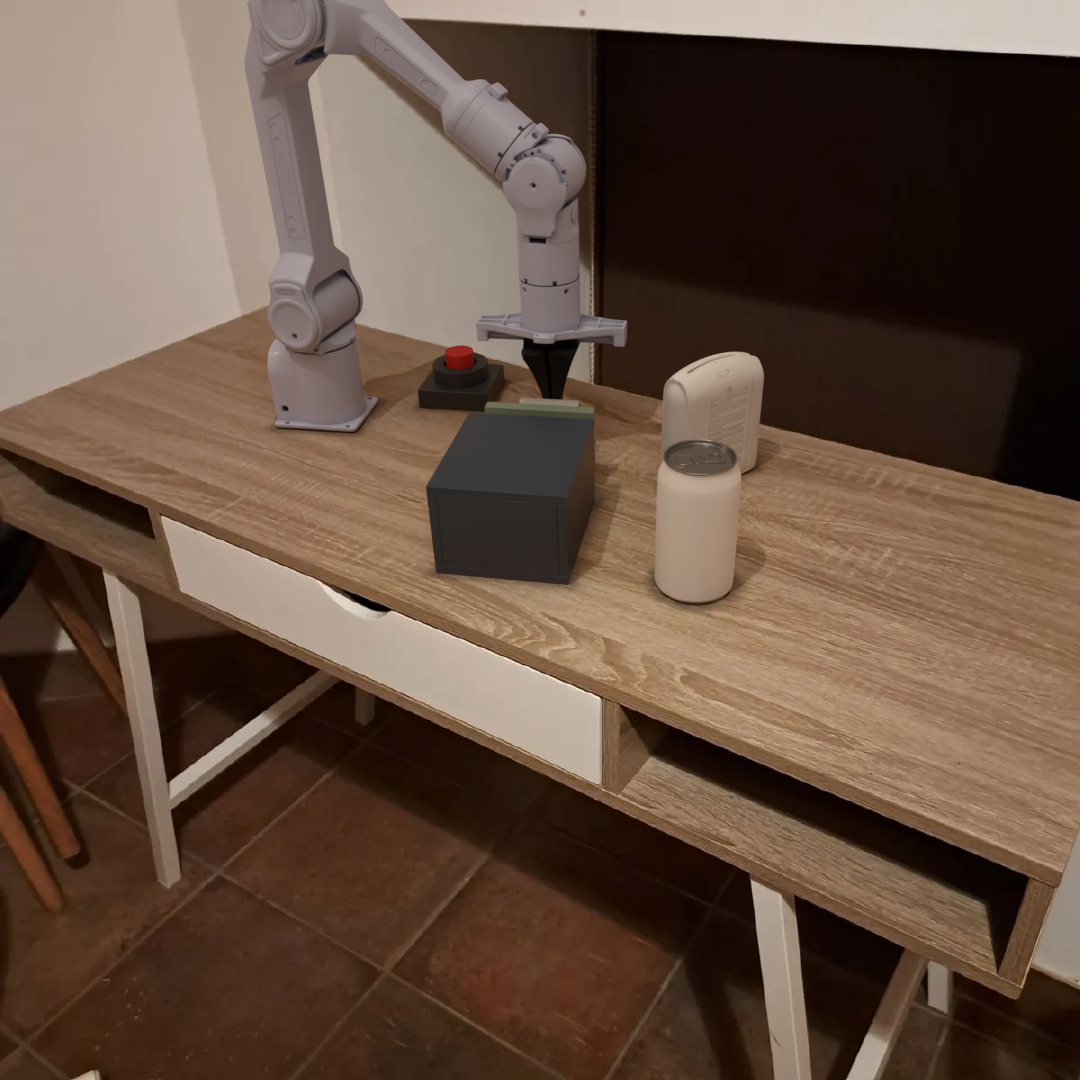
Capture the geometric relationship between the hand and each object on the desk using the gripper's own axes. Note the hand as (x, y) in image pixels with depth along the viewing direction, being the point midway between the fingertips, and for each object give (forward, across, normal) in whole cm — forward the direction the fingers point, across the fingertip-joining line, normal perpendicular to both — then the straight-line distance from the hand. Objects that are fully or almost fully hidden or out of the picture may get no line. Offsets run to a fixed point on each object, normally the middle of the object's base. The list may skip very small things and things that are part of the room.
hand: (554, 407), depth 103 cm
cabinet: (+4, 0, -17) cm, 18 cm away
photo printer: (+5, +16, -4) cm, 17 cm away
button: (+1, -13, +11) cm, 17 cm away
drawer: (+3, 0, -10) cm, 10 cm away
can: (+5, +16, -22) cm, 28 cm away
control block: (+4, -13, +11) cm, 18 cm away
